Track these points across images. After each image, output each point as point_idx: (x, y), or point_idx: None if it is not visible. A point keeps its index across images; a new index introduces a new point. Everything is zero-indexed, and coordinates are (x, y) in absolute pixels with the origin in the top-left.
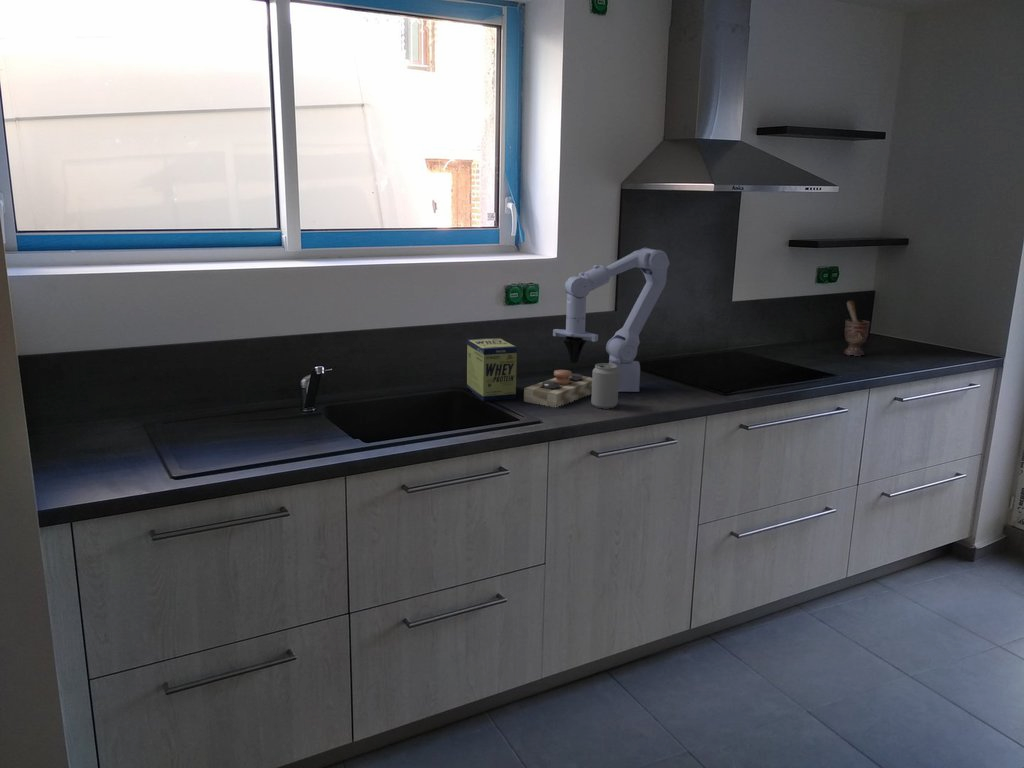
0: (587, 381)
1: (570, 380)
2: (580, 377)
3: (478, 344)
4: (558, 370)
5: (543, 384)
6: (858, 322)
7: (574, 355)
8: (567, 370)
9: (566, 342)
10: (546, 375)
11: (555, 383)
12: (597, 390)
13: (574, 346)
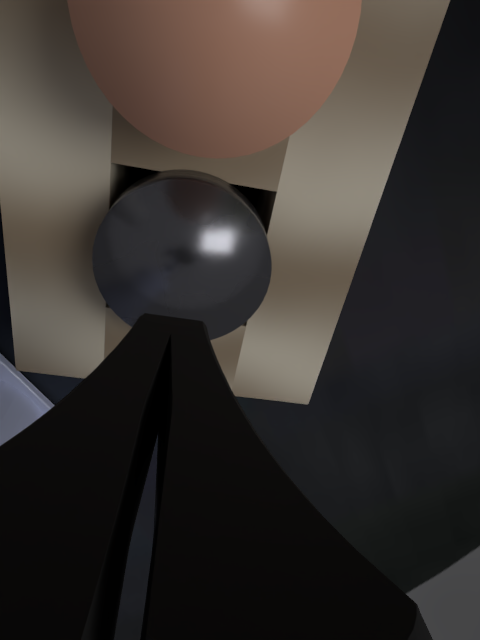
0: (32, 240)
1: (180, 171)
2: (94, 244)
3: None
4: (308, 67)
5: None
6: None
7: (106, 365)
8: (188, 140)
9: (308, 598)
10: (470, 480)
11: None
12: None
13: (11, 496)
